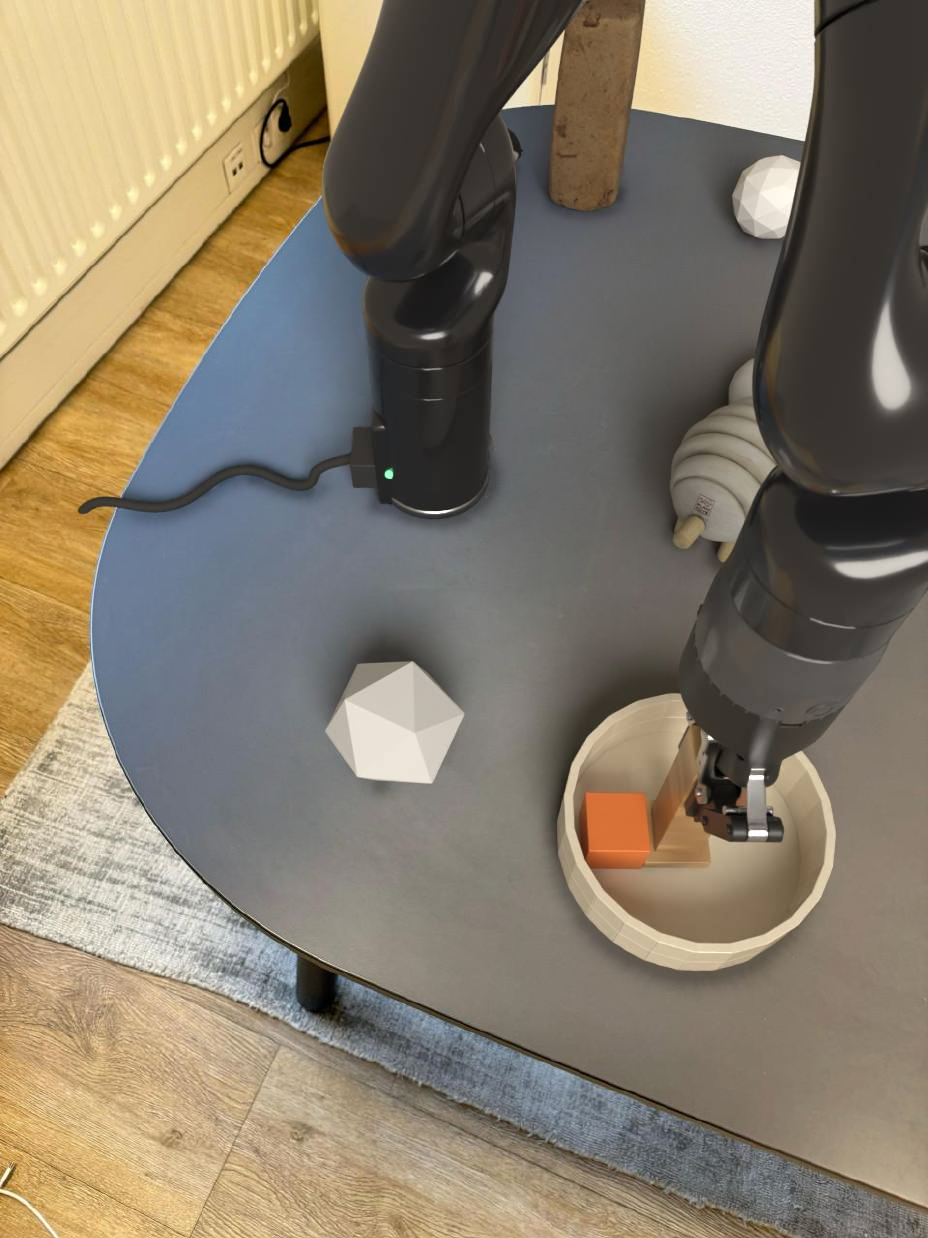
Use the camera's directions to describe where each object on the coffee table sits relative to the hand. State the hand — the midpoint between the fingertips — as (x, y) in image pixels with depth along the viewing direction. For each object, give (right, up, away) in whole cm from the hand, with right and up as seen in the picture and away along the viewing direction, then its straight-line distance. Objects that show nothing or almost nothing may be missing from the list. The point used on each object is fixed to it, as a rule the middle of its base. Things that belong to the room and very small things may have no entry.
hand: (699, 782), depth 57 cm
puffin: (-15, +57, +43) cm, 73 cm away
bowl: (+1, -6, +10) cm, 11 cm away
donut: (+15, +28, +30) cm, 44 cm away
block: (-1, +56, +47) cm, 73 cm away
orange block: (-4, -6, +9) cm, 12 cm away
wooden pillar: (0, -5, +9) cm, 10 cm away
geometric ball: (+17, +50, +43) cm, 68 cm away
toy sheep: (+7, +18, +24) cm, 31 cm away
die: (-19, 0, +14) cm, 23 cm away
